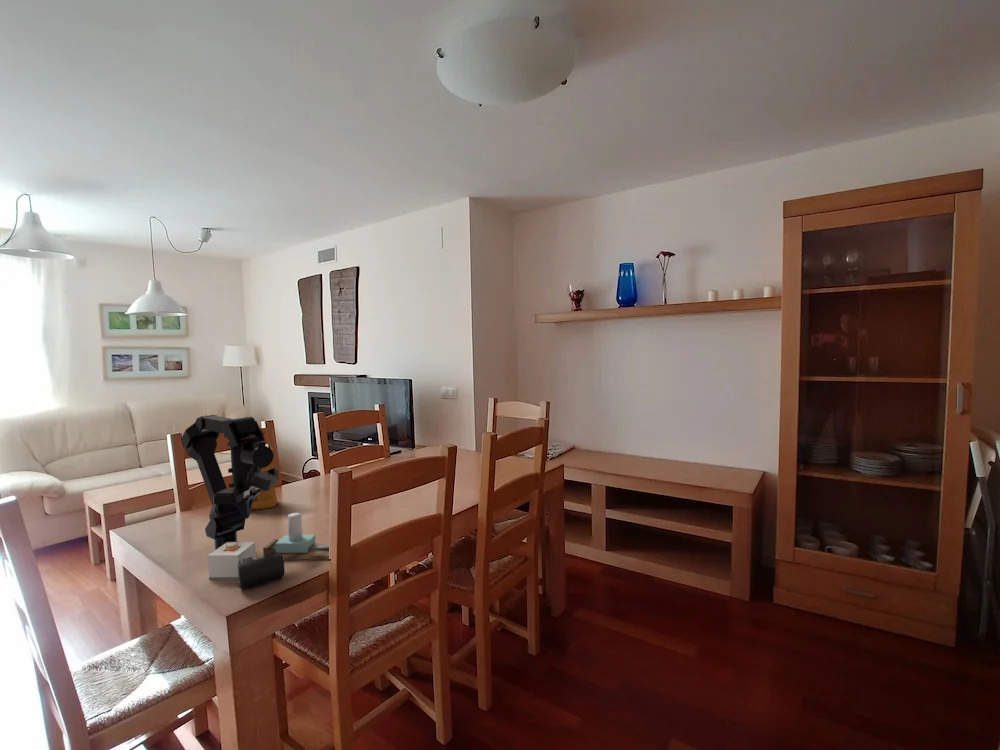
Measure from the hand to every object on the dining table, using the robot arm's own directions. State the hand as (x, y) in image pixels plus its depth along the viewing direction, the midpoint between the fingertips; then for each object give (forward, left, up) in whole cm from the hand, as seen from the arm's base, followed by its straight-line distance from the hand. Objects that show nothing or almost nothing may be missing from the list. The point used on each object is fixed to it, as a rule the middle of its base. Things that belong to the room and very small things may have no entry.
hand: (246, 518), depth 128 cm
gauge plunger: (+2, -5, -9) cm, 10 cm away
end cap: (+14, -2, -13) cm, 19 cm away
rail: (+6, +13, -13) cm, 19 cm away
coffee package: (-47, +20, -13) cm, 53 cm away
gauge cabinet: (+2, -5, -13) cm, 14 cm away
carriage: (+4, +11, -11) cm, 17 cm away
